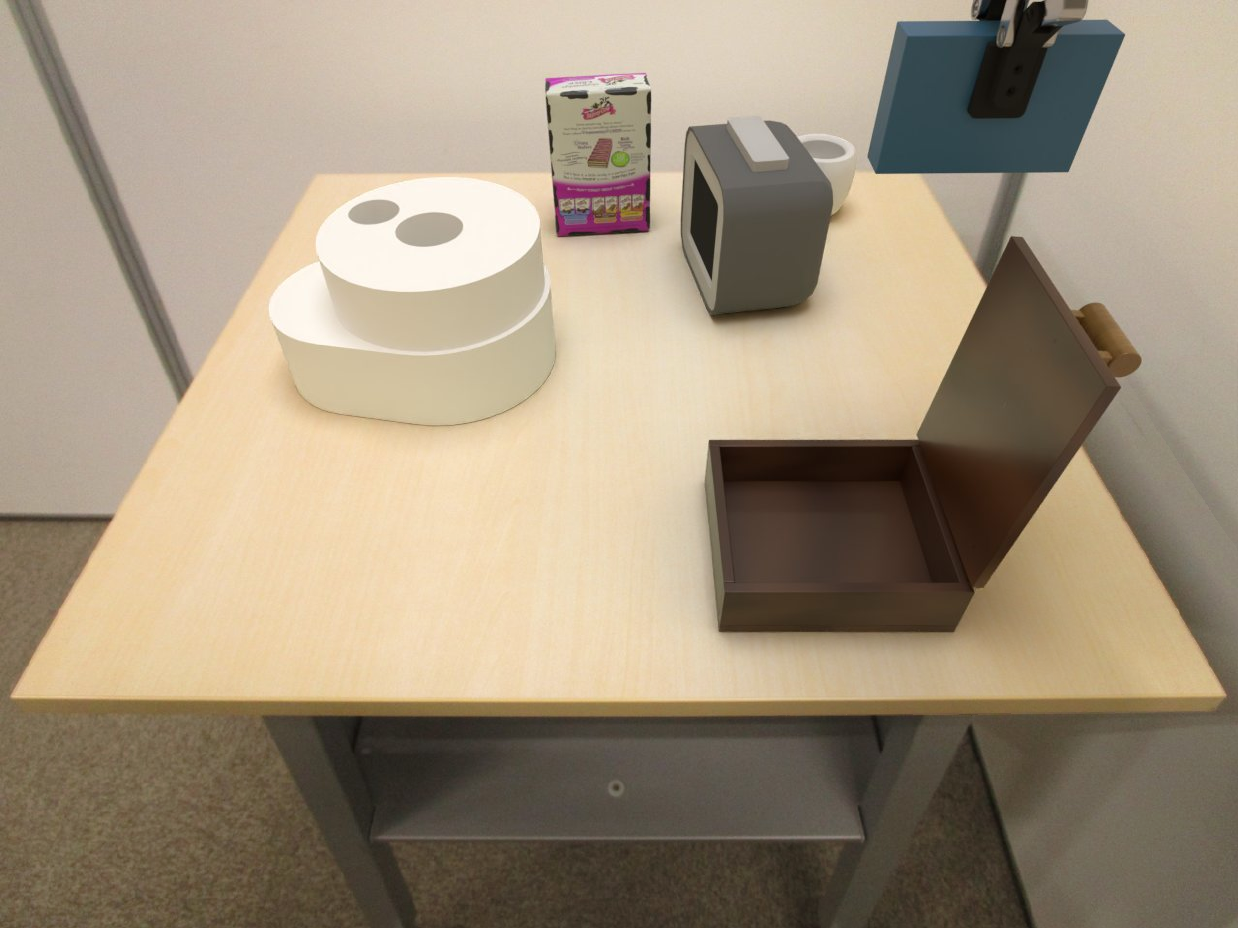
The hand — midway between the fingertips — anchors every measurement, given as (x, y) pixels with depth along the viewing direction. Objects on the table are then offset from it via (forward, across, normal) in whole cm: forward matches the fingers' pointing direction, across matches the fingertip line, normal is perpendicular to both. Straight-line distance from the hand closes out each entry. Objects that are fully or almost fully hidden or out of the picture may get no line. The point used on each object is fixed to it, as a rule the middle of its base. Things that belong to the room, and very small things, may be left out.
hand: (986, 102), depth 48 cm
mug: (+30, +40, -2) cm, 50 cm away
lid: (+16, -11, -2) cm, 19 cm away
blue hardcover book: (+4, 0, 0) cm, 4 cm away
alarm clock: (+30, +27, +8) cm, 41 cm away
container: (+30, +13, +41) cm, 52 cm away
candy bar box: (+30, +39, +24) cm, 55 cm away
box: (+30, -11, +7) cm, 32 cm away
